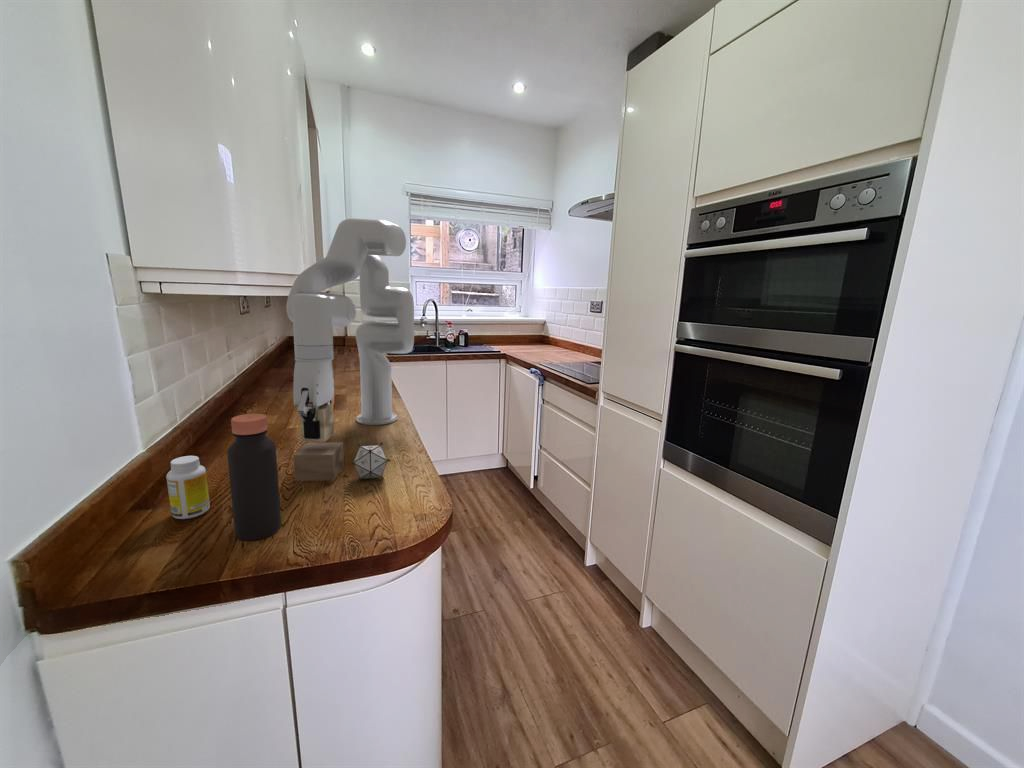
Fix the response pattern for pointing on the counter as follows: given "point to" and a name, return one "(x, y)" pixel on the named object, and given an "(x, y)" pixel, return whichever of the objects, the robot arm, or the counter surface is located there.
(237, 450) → the water bottle
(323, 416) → the pale wooden block
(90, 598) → the counter surface
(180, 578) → the counter surface
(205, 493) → the supplement bottle
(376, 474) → the game die
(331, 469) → the walnut block
